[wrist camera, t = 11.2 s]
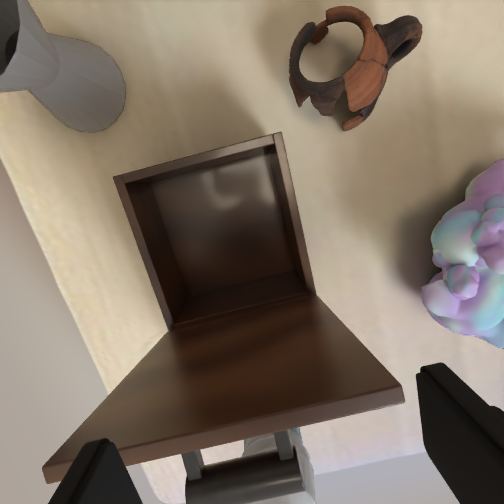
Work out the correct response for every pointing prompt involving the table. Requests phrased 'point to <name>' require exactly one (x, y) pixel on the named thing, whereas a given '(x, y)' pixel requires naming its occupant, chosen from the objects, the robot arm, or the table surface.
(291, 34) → the table surface
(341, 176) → the table surface
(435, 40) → the table surface
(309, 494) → the bottle
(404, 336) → the table surface
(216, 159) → the chest
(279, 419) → the lid
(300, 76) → the pottery mug
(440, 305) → the iridescent bubble cluster
